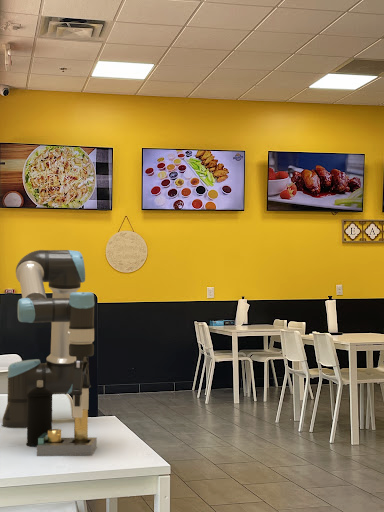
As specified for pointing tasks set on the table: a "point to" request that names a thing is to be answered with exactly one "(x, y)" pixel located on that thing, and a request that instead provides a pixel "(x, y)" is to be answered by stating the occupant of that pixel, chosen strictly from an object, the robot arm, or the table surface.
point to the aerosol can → (38, 413)
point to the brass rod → (81, 428)
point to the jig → (63, 445)
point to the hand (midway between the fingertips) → (80, 413)
